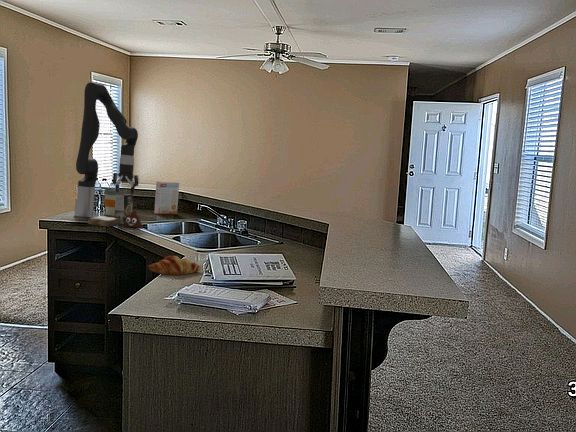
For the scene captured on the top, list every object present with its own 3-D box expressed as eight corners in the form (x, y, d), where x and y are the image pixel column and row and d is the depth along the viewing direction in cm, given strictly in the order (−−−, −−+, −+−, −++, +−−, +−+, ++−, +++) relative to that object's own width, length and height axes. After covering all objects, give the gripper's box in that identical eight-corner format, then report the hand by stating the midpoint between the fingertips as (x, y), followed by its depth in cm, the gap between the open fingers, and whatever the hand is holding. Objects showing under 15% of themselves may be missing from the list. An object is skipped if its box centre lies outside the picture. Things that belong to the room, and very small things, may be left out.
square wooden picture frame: (87, 223, 316) (88, 217, 315) (99, 221, 327) (99, 215, 327) (108, 226, 313) (109, 220, 313) (119, 224, 325) (120, 218, 325)
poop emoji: (144, 227, 325) (145, 210, 324) (139, 229, 316) (140, 211, 315) (126, 225, 326) (127, 208, 325) (120, 226, 317) (122, 209, 316)
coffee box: (124, 224, 326) (126, 195, 324) (113, 223, 327) (115, 193, 325) (131, 222, 334) (133, 194, 333) (121, 221, 336) (123, 193, 334)
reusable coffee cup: (98, 213, 358) (99, 188, 356) (115, 212, 368) (116, 188, 366) (111, 216, 351) (113, 191, 349) (128, 215, 361) (130, 191, 359)
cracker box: (172, 213, 394) (174, 181, 392) (177, 214, 390) (179, 182, 387) (153, 213, 384) (156, 180, 382) (158, 214, 380) (160, 181, 378)
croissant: (196, 279, 233) (194, 259, 236) (208, 272, 225) (205, 252, 228) (144, 279, 221) (143, 259, 224) (154, 273, 214) (152, 251, 216)
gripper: (111, 162, 324) (109, 191, 326) (135, 164, 322) (133, 194, 324) (117, 162, 332) (116, 191, 334) (141, 164, 329) (139, 193, 331)
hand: (124, 192), depth 329 cm, fingers open, 8 cm apart
